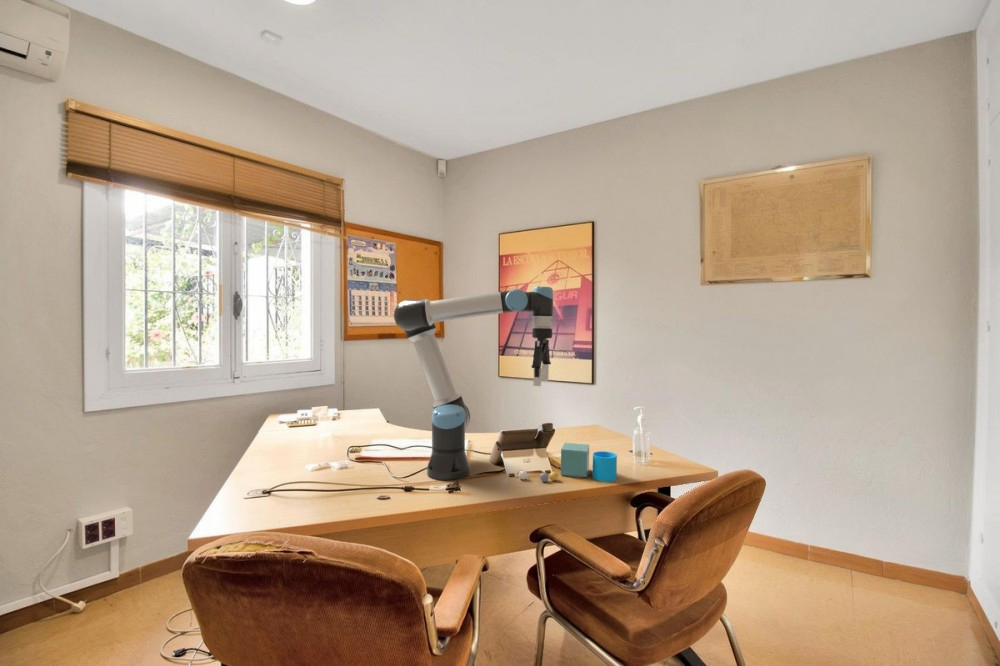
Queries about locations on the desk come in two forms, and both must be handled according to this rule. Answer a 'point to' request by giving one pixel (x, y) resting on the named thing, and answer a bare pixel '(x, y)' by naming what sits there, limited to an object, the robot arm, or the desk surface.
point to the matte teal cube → (575, 459)
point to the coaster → (578, 476)
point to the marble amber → (553, 476)
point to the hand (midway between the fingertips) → (541, 383)
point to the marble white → (522, 475)
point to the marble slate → (544, 477)
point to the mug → (604, 466)
